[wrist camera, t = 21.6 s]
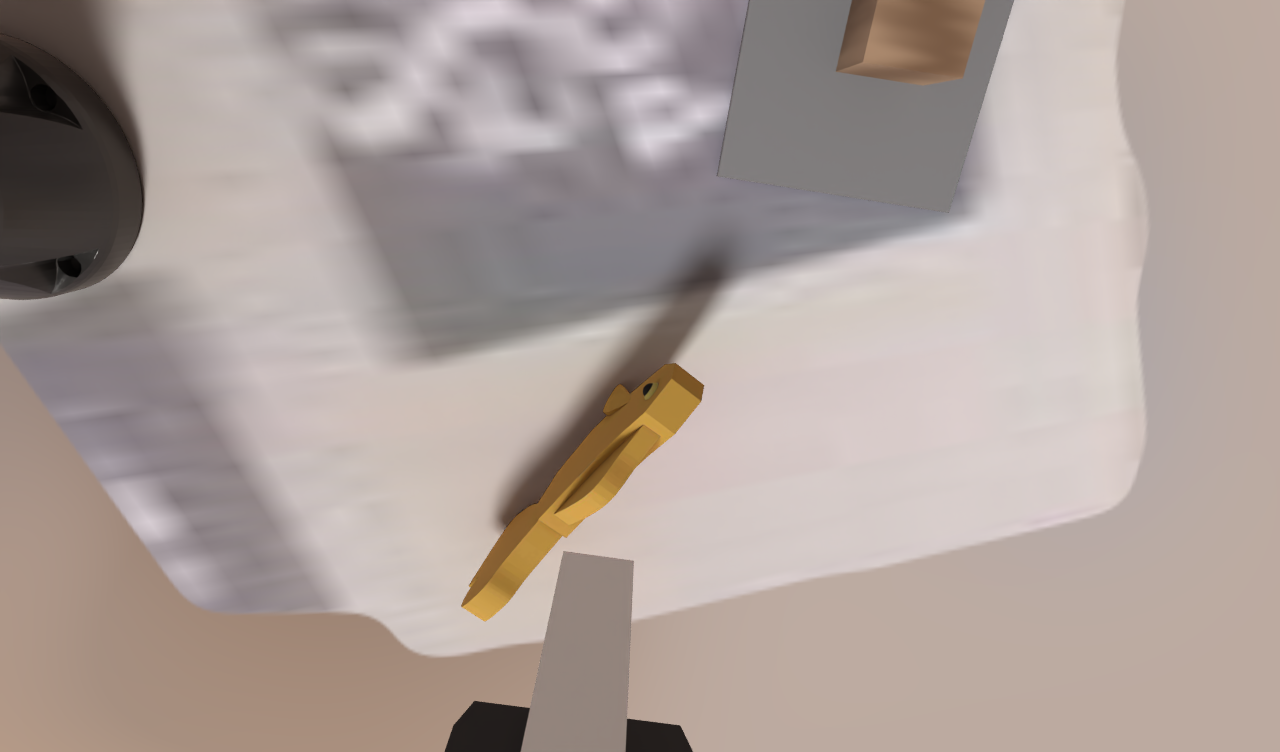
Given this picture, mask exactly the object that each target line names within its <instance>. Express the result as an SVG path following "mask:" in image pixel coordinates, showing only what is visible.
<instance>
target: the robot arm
mask: <svg viewBox="0 0 1280 752" xmlns="http://www.w3.org/2000/svg"><path fill="white" fill-rule="evenodd" d="M141 212H142V195H141V185H140V179H139V174H138V170H137V166H136V163H135V160H134V157H133V154H132V151H131V149H130V147H129V144H128V142H127V140H126V138H125V136H124V134H123V132H122V130H121V128H120V127H119V125H118V123H117V121H116V120H115V118H114V117H113V115H112V114H111V112H110V111H109V109H108V108H107V107H106V105H105V104H104V103H103V101H102V100H101V99H100V98H99V97H98V96H97V94H96V93H95V92H94V91H93V90H92V89H91V88H90V87H89V86H88V85H87V84H86V83H85V82H84V81H83V80H82V79H81V78H80V77H79V76H78V75H77V74H75V73H74V72H73V71H72V70H71V69H70V68H68V67H67V66H66V65H64V64H63V63H62V62H60V61H59V60H57V59H56V58H54V57H53V56H51V55H50V54H48V53H46V52H44V51H43V50H41V49H39V48H37V47H35V46H33V45H31V44H29V43H26V42H24V41H22V40H19V39H16V38H13V37H10V36H7V35H3V34H0V299H14V300H31V299H41V298H48V297H53V296H57V295H61V294H65V293H69V292H72V291H76V290H80V289H83V288H86V287H89V286H92V285H94V284H96V283H98V282H100V281H102V280H103V279H105V278H106V277H108V276H109V275H110V274H112V273H113V272H114V271H115V270H116V269H117V268H118V267H119V266H120V265H121V264H122V263H123V261H124V260H125V259H126V257H127V256H128V254H129V252H130V251H131V249H132V247H133V245H134V242H135V240H136V237H137V234H138V230H139V226H140V221H141ZM633 568H634V561H631V560H624V559H616V558H609V557H602V556H595V555H587V554H580V553H573V552H565V551H563V556H562V561H561V565H560V570H559V575H558V579H557V584H556V589H555V594H554V598H553V603H552V608H551V612H550V617H549V622H548V626H547V631H546V636H545V640H544V645H543V650H542V654H541V659H540V664H539V669H538V673H537V678H536V683H535V688H534V692H533V697H532V702H531V706H530V708H525V707H517V706H509V705H502V704H494V703H486V702H478V701H474V702H473V704H472V705H471V706H470V707H469V708H468V709H467V710H466V712H465V713H464V714H463V715H462V716H461V718H460V719H459V720H458V721H457V722H456V723H455V724H454V726H453V729H452V732H451V734H450V738H449V740H448V743H447V746H446V749H445V752H693V751H692V749H691V747H690V745H689V743H688V741H687V739H686V737H685V735H684V732H683V730H682V728H681V726H679V725H671V724H664V723H657V722H648V721H641V720H633V719H627V703H628V682H629V659H630V636H631V613H632V591H633Z"/></svg>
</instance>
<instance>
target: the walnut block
mask: <svg viewBox="0 0 1280 752" xmlns="http://www.w3.org/2000/svg"><path fill="white" fill-rule="evenodd" d="M984 3H985V0H852V2H851V6H850V11H849V15H848V20H847V24H846V29H845V33H844V37H843V42H842V46H841V51H840V55H839V59H838V64H837V68H836V72H841V73H847V74H853V75H860V76H866V77H872V78H878V79H885V80H891V81H897V82H903V83H910V84H916V85H922V86H924V85H929V84H935V83H940V82H946V81H951V80H956V79H962V78H963V76H964V72H965V69H966V65H967V62H968V59H969V55H970V52H971V48H972V45H973V41H974V38H975V34H976V31H977V27H978V24H979V21H980V17H981V14H982V10H983V7H984Z"/></svg>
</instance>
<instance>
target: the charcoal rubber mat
mask: <svg viewBox="0 0 1280 752" xmlns="http://www.w3.org/2000/svg"><path fill="white" fill-rule="evenodd" d="M851 2H852V0H749V3H748V8H747V14H746V19H745V25H744V30H743V36H742V41H741V47H740V52H739V58H738V63H737V68H736V74H735V79H734V85H733V90H732V96H731V101H730V107H729V112H728V118H727V123H726V129H725V134H724V140H723V145H722V150H721V156H720V161H719V167H718V172H717V176H719V177H725V178H731V179H738V180H744V181H750V182H756V183H763V184H769V185H775V186H782V187H788V188H794V189H801V190H807V191H813V192H820V193H826V194H832V195H839V196H845V197H851V198H858V199H864V200H870V201H876V202H883V203H889V204H895V205H902V206H908V207H914V208H921V209H927V210H933V211H940V212H946V213H949V210H950V207H951V204H952V201H953V197H954V194H955V191H956V188H957V184H958V181H959V178H960V174H961V171H962V168H963V165H964V161H965V158H966V155H967V152H968V148H969V145H970V142H971V139H972V135H973V132H974V129H975V126H976V122H977V119H978V116H979V113H980V109H981V106H982V103H983V100H984V96H985V93H986V90H987V87H988V83H989V80H990V77H991V74H992V70H993V67H994V64H995V60H996V57H997V54H998V51H999V47H1000V44H1001V41H1002V38H1003V34H1004V31H1005V28H1006V25H1007V21H1008V18H1009V15H1010V12H1011V8H1012V5H1013V2H1014V0H985V3H984V7H983V10H982V14H981V17H980V21H979V24H978V27H977V31H976V34H975V38H974V41H973V45H972V48H971V52H970V55H969V59H968V62H967V65H966V69H965V72H964V76H963V78H962V79H956V80H951V81H946V82H940V83H935V84H929V85H924V86H922V85H916V84H910V83H903V82H897V81H891V80H885V79H878V78H872V77H866V76H860V75H853V74H847V73H841V72H836V68H837V64H838V59H839V55H840V51H841V46H842V42H843V37H844V33H845V29H846V24H847V20H848V15H849V11H850V6H851Z"/></svg>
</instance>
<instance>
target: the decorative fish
mask: <svg viewBox="0 0 1280 752" xmlns="http://www.w3.org/2000/svg"><path fill="white" fill-rule="evenodd" d="M703 389H704V385H703V384H702V383H700V382H699V381H698V380H697V379H695V378H694V377H693V376H691V375H690V374H689V373H688V372H686V371H685V370H684V369H682V368H681V367H680V366H679V365H677V364H676V363H673V364H665V365H664V366H662V367H661V368H660V369H659V370H658V371H657V372H655V373H654V374H653V375H652V376H651V377H649V378H648V379H647V380H646V381H645V382H643V383H642V384H641V385H640V386H639V387H637V388H636V389H635V390H634V391H633V392H631V393H629V392H628V391H627V389H626V388H625V387H624V386H622V385H621V384H619V385H617V386H616V388H615V389H614V390H613V392H612V393H611V395H610V397H609V398H608V400H607V402H606V404H605V406H604V409H603V412H604V413H605V414H606V415H607V416H606V417H605V418H604V419H603V420H602V421H601V422H600V423H599V424H598V425H597V426H596V427H595V428H594V429H593V430H592V431H591V432H590V433H589V434H588V436H587V437H586V438H585V439H584V441H583V442H582V443H581V444H580V445H579V447H578V448H577V449H576V450H575V451H574V453H573V454H572V455H571V456H570V457H569V459H568V460H567V461H566V462H565V464H564V465H563V466H562V467H561V468H560V470H559V471H558V472H557V474H556V475H555V477H554V478H553V480H552V482H551V483H550V485H549V486H548V488H547V490H546V491H545V493H544V494H543V496H542V497H541V499H540V501H539V502H538V504H533V505H531V506H529V507H527V508H526V509H524V510H523V511H522V512H520V513H519V514H518V515H517V516H516V517H515V518H514V519H513V520H512V521H511V522H510V523H509V525H508V526H507V528H506V529H505V530H504V532H503V533H502V535H501V536H500V538H499V539H498V541H497V542H496V544H495V545H494V547H493V548H492V550H491V551H490V553H489V555H488V556H487V558H486V559H485V561H484V562H483V564H482V565H481V567H480V568H479V570H478V572H477V573H476V575H475V576H474V578H473V580H472V581H471V583H470V585H469V587H471V588H470V590H469V591H468V593H467V595H466V597H465V598H464V600H463V603H462V605H461V607H463V608H464V609H466V610H467V611H469V612H471V613H472V614H474V615H475V616H477V617H478V618H480V619H482V620H483V621H487V620H488V619H490V618H491V617H492V616H494V615H495V614H496V613H497V612H498V611H499V610H500V609H501V608H503V607H504V606H505V605H506V604H507V603H508V601H509V600H510V599H511V598H512V597H513V595H514V594H515V592H516V591H517V590H518V588H519V587H520V586H521V584H522V583H523V582H524V580H525V579H526V578H527V577H528V575H529V574H530V573H531V572H532V571H533V569H534V568H535V567H536V566H537V565H538V564H539V562H540V561H541V560H542V559H543V558H544V557H545V555H546V554H547V553H548V552H549V551H550V550H551V548H552V547H553V546H554V545H555V544H556V543H557V541H558V540H559V539H560V538H561V537H562V536H564V537H565V538H566V537H567V536H568V535H569V534H570V533H571V532H572V531H573V530H574V529H575V528H576V527H577V526H578V525H579V524H580V523H581V522H582V521H583V520H584V519H585V518H586V517H588V516H590V515H591V514H593V513H595V512H596V511H598V510H599V509H601V508H602V507H604V506H605V505H606V504H607V503H608V502H609V501H610V500H611V499H612V498H613V497H614V496H615V495H616V494H617V492H618V491H619V490H620V489H621V487H622V486H623V484H624V483H625V482H626V480H627V479H628V477H629V476H630V475H631V473H632V472H633V470H634V469H635V468H636V467H637V466H638V465H639V464H640V463H641V462H642V461H643V460H644V459H645V458H646V457H647V456H649V455H650V454H651V453H652V452H654V451H655V450H656V449H657V448H658V447H660V446H661V445H662V444H663V443H664V442H666V441H667V440H668V439H669V438H671V437H672V436H673V435H674V434H675V433H676V432H677V431H678V429H679V428H680V427H681V426H682V424H683V423H684V422H685V421H686V419H687V418H688V417H689V416H690V415H691V413H692V412H693V411H694V410H695V408H696V407H697V406H698V405H699V403H700V402H701V400H702V394H703Z"/></svg>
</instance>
